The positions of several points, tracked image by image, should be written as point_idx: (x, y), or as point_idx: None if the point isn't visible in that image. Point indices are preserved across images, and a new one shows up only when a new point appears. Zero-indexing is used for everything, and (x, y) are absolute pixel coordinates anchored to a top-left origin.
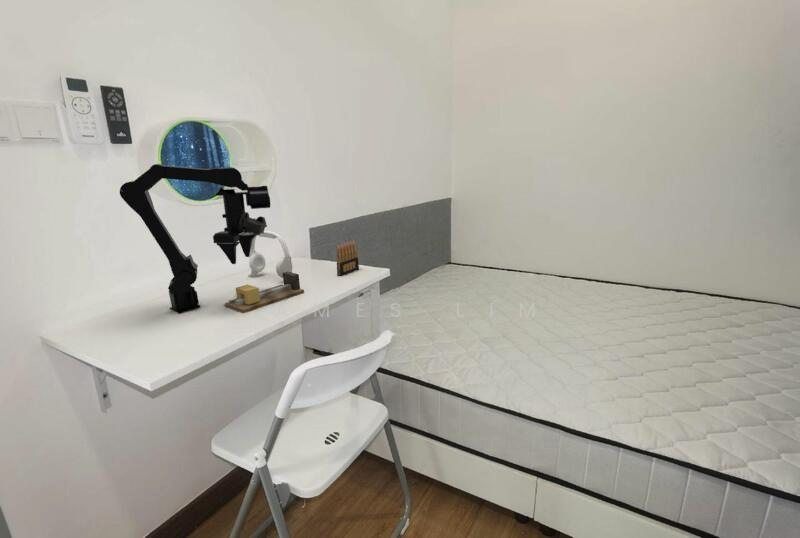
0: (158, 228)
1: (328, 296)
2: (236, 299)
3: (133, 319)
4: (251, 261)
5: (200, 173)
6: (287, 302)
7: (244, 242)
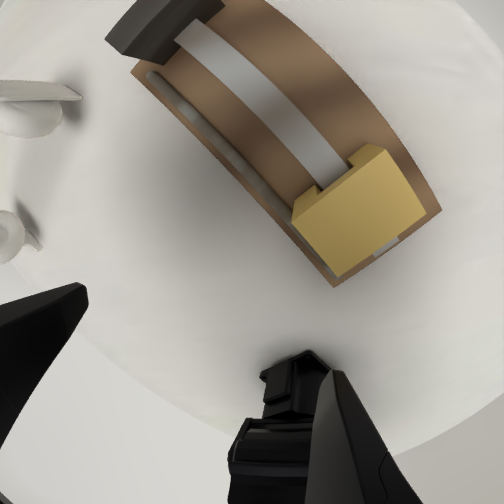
0: None
1: None
2: None
3: None
4: (3, 256)
5: None
6: (357, 31)
7: (5, 381)
